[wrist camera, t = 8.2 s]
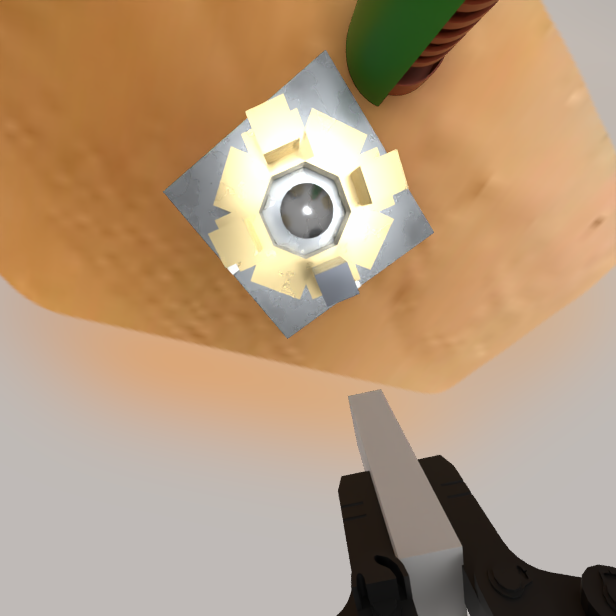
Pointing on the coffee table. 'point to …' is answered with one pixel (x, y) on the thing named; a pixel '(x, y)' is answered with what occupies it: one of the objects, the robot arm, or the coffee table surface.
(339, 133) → the ring nut
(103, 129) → the coffee table surface
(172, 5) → the coffee table surface
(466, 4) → the motor
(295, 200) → the flange plate
